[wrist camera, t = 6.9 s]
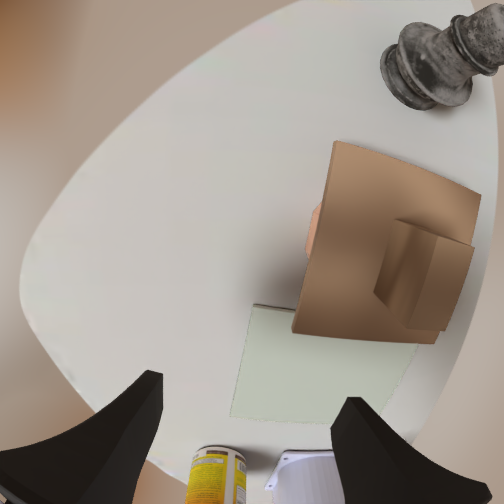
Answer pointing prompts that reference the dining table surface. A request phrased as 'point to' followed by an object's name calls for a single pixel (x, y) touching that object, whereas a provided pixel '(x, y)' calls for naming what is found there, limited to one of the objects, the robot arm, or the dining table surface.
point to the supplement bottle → (217, 477)
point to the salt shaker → (444, 58)
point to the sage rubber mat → (311, 372)
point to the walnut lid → (386, 251)
